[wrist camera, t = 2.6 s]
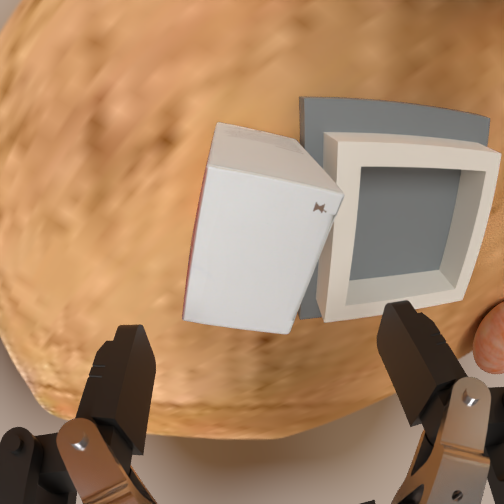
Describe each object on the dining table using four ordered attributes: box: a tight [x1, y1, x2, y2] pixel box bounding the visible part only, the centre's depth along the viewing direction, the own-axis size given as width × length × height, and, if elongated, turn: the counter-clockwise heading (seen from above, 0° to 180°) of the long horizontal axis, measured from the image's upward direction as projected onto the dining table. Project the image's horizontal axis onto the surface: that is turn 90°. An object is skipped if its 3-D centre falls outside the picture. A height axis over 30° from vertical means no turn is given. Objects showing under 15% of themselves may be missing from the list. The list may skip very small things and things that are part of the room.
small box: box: [182, 122, 345, 334], centre depth 18 cm, size 8×6×10 cm
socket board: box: [298, 97, 501, 323], centre depth 22 cm, size 18×16×4 cm
